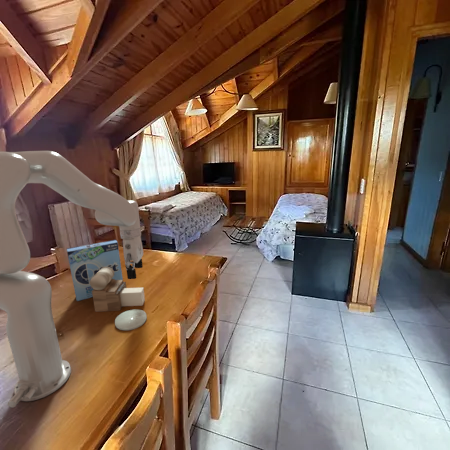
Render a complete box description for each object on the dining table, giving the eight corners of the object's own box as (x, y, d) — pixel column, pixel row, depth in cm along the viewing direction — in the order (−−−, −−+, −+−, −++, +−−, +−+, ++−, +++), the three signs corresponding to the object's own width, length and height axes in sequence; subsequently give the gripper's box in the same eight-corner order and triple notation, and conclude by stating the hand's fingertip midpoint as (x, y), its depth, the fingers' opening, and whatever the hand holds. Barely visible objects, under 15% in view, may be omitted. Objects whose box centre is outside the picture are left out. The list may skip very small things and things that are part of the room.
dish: (142, 329, 89) (142, 326, 89) (110, 331, 88) (110, 328, 88) (149, 311, 100) (149, 308, 99) (121, 312, 99) (120, 309, 99)
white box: (142, 305, 104) (141, 292, 102) (112, 306, 103) (110, 293, 101) (144, 300, 108) (143, 287, 106) (116, 301, 107) (114, 288, 105)
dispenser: (119, 310, 100) (115, 276, 97) (93, 311, 100) (88, 277, 96) (127, 297, 110) (123, 265, 106) (104, 298, 109) (99, 266, 106)
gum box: (121, 284, 121) (116, 239, 115) (124, 288, 117) (118, 242, 111) (75, 296, 111) (66, 247, 105) (76, 302, 107) (66, 251, 101)
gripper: (134, 239, 90) (139, 283, 94) (145, 226, 106) (149, 263, 111) (112, 240, 89) (118, 283, 94) (127, 226, 106) (132, 264, 110)
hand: (135, 272), depth 102 cm, fingers open, 9 cm apart
